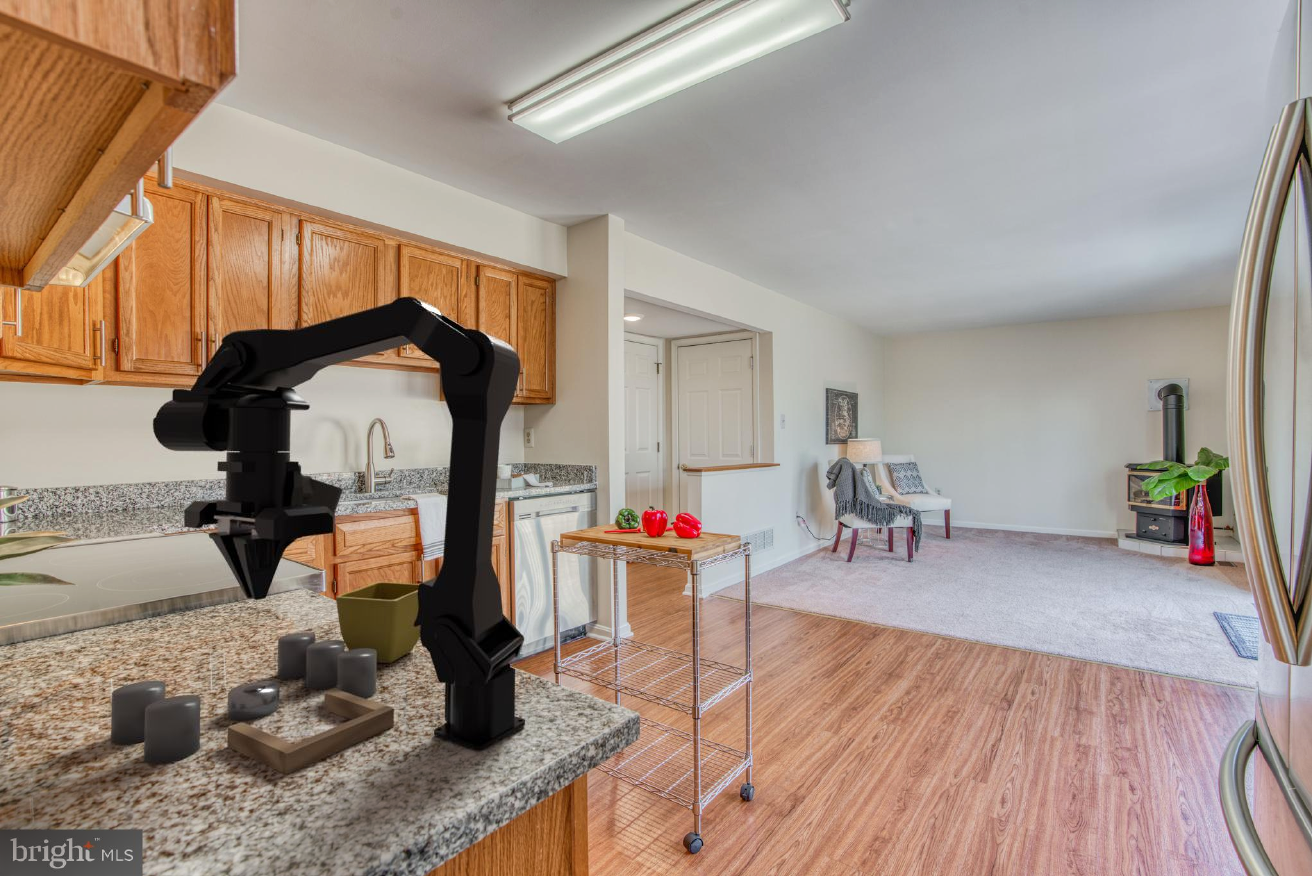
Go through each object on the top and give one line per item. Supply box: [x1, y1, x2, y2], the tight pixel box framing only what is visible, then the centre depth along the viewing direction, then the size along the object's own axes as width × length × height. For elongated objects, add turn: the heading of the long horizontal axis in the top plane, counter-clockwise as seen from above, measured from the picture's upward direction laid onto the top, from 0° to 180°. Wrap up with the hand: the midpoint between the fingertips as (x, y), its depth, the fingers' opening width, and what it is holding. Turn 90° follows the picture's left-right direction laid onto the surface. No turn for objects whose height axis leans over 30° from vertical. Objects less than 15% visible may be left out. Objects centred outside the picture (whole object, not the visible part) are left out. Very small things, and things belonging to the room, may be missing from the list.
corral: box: [227, 688, 395, 776], centre depth 59 cm, size 10×11×2 cm
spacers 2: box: [277, 631, 377, 699], centre depth 73 cm, size 16×4×4 cm, turn 60°
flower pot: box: [335, 581, 420, 664], centre depth 82 cm, size 9×9×9 cm
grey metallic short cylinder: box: [226, 680, 281, 723], centre depth 65 cm, size 5×5×3 cm
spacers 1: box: [110, 680, 202, 765], centre depth 58 cm, size 11×4×4 cm, turn 60°
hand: (256, 598), depth 65 cm, fingers closed
